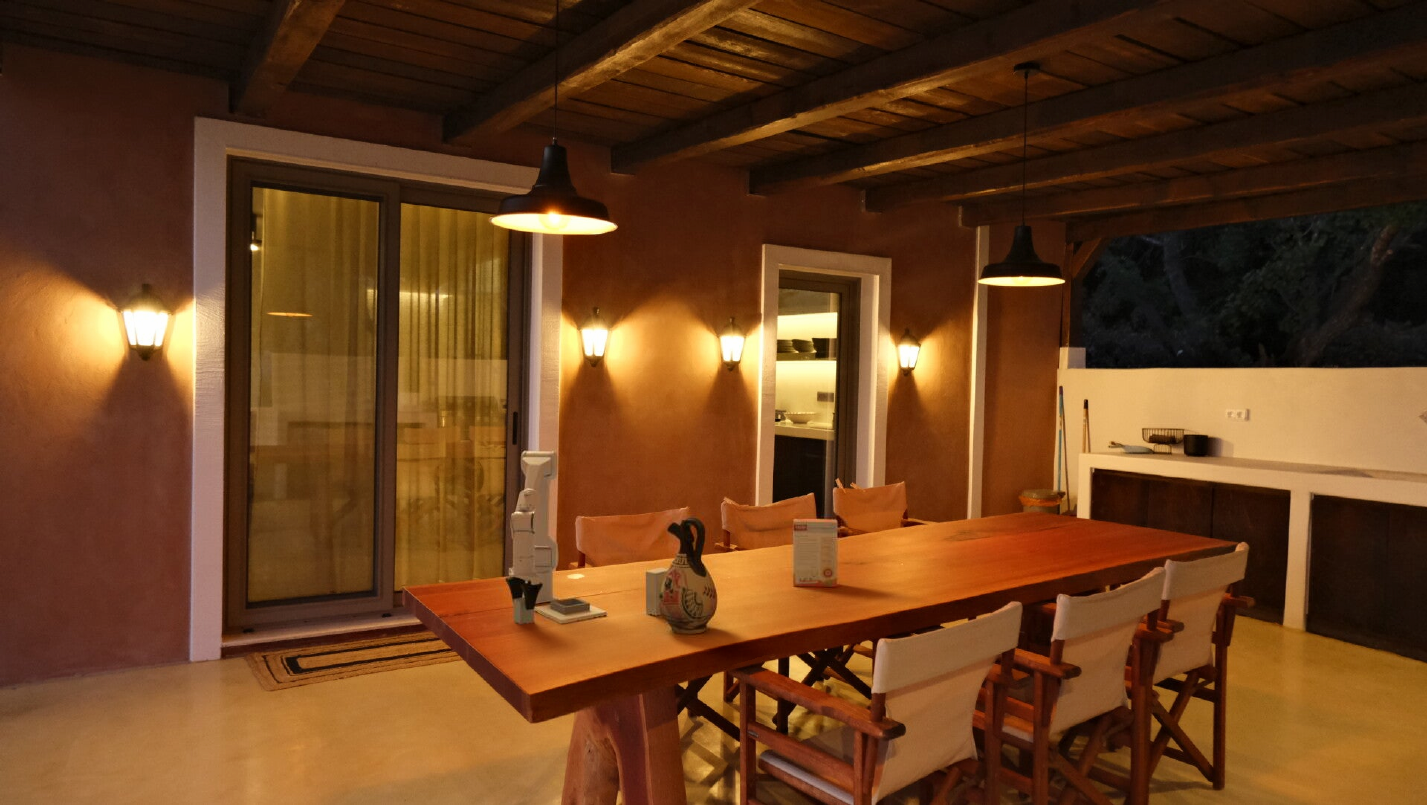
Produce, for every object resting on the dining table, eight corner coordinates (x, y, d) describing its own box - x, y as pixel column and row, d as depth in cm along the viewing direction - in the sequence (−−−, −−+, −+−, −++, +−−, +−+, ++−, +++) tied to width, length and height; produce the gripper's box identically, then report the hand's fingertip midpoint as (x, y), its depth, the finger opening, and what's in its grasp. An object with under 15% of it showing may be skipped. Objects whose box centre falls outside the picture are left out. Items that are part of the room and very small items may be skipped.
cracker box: (836, 583, 286) (837, 518, 285) (837, 588, 280) (838, 521, 279) (792, 582, 287) (793, 517, 286) (792, 586, 281) (793, 520, 280)
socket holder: (534, 610, 249) (534, 600, 249) (578, 603, 258) (578, 593, 258) (561, 623, 237) (561, 612, 237) (606, 615, 245) (606, 604, 245)
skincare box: (659, 609, 252) (660, 567, 252) (670, 612, 250) (671, 569, 249) (644, 613, 248) (645, 570, 247) (656, 616, 245) (656, 573, 245)
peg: (513, 621, 239) (513, 598, 239) (527, 618, 242) (527, 596, 241) (520, 624, 236) (520, 602, 236) (533, 622, 238) (534, 599, 238)
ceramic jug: (645, 629, 232) (646, 515, 231) (689, 618, 243) (690, 509, 242) (690, 643, 220) (691, 523, 219) (733, 631, 231) (734, 516, 230)
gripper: (498, 553, 241) (498, 603, 242) (522, 562, 230) (522, 614, 230) (522, 550, 246) (522, 599, 246) (546, 559, 234) (546, 610, 235)
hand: (523, 606), depth 239 cm, fingers open, 7 cm apart
